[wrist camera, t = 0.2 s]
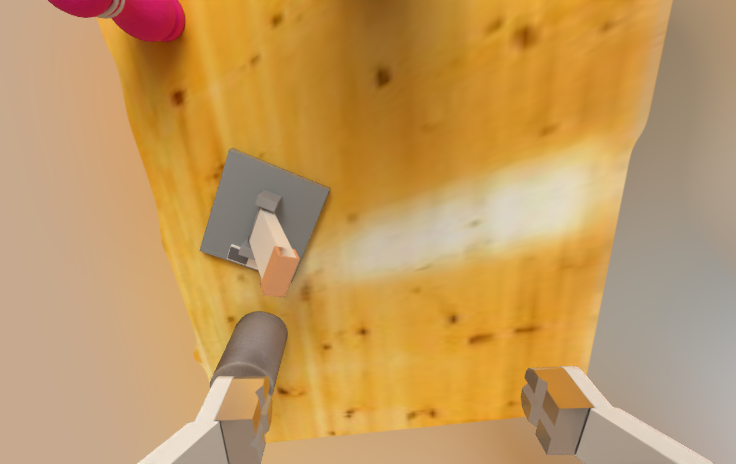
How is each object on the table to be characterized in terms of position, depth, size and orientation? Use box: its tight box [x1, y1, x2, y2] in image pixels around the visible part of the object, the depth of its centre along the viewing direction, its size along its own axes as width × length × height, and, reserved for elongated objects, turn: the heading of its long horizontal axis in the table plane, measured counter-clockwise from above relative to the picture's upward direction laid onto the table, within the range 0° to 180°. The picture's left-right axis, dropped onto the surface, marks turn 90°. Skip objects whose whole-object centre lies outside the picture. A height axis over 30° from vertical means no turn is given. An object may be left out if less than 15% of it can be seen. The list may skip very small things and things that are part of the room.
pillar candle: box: [210, 312, 287, 397], centre depth 59 cm, size 10×10×15 cm
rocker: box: [248, 207, 300, 297], centre depth 50 cm, size 3×6×15 cm, turn 157°
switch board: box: [200, 148, 330, 283], centre depth 55 cm, size 16×18×5 cm
